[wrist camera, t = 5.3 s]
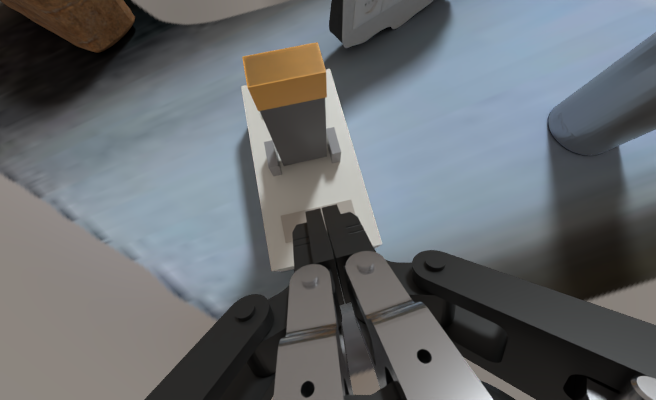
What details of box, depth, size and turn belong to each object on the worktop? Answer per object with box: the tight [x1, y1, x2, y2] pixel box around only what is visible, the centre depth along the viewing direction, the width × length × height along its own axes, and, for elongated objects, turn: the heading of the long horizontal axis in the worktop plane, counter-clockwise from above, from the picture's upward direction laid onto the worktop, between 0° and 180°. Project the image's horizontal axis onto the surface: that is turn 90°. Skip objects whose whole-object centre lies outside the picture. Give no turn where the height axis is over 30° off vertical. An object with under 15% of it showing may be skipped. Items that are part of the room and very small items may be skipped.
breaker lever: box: [242, 42, 327, 166], centre depth 23 cm, size 5×3×13 cm, turn 103°
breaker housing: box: [241, 69, 382, 272], centre depth 31 cm, size 12×24×8 cm, turn 13°
